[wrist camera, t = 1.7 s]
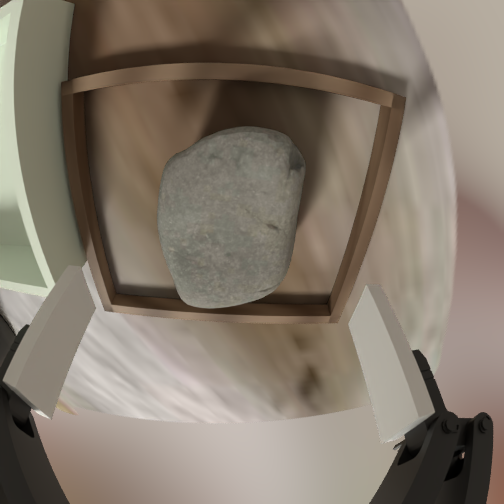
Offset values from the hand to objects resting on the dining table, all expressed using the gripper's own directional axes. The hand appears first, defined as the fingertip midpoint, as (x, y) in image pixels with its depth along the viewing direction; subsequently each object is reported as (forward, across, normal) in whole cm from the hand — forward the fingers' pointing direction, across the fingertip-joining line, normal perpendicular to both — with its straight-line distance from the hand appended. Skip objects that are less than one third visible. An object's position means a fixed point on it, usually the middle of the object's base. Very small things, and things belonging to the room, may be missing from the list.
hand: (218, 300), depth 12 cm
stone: (+9, 0, +1) cm, 9 cm away
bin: (+8, -23, +6) cm, 25 cm away
